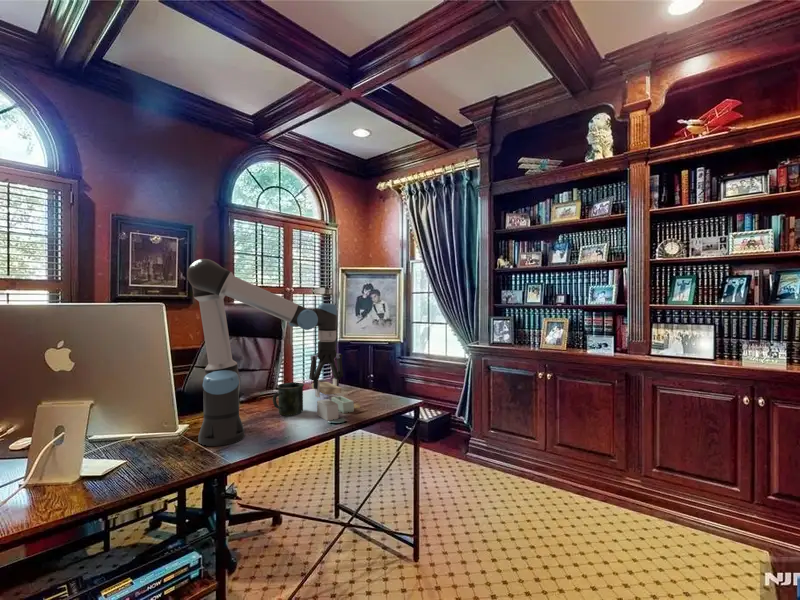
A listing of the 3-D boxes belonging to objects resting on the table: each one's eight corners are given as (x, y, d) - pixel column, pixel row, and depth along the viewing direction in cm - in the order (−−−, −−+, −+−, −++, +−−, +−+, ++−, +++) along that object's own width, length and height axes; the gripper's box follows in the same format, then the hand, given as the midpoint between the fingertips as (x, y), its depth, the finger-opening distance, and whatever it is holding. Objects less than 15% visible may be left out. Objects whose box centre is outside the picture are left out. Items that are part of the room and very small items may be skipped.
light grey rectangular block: (327, 420, 168) (327, 406, 168) (317, 414, 176) (317, 400, 176) (338, 418, 171) (338, 404, 171) (328, 412, 179) (328, 399, 179)
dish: (343, 413, 178) (343, 403, 178) (331, 407, 188) (331, 397, 188) (353, 411, 181) (353, 401, 181) (341, 405, 191) (341, 395, 191)
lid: (325, 394, 165) (325, 389, 165) (311, 388, 177) (311, 383, 177) (341, 392, 169) (341, 387, 169) (326, 386, 181) (327, 381, 181)
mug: (309, 411, 181) (309, 384, 181) (282, 419, 170) (282, 390, 169) (293, 407, 188) (292, 381, 188) (265, 415, 176) (265, 387, 176)
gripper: (307, 342, 164) (306, 400, 164) (352, 340, 175) (351, 394, 176) (300, 340, 170) (299, 396, 171) (344, 338, 182) (343, 390, 182)
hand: (326, 395), depth 173 cm, fingers closed on lid, 7 cm apart
